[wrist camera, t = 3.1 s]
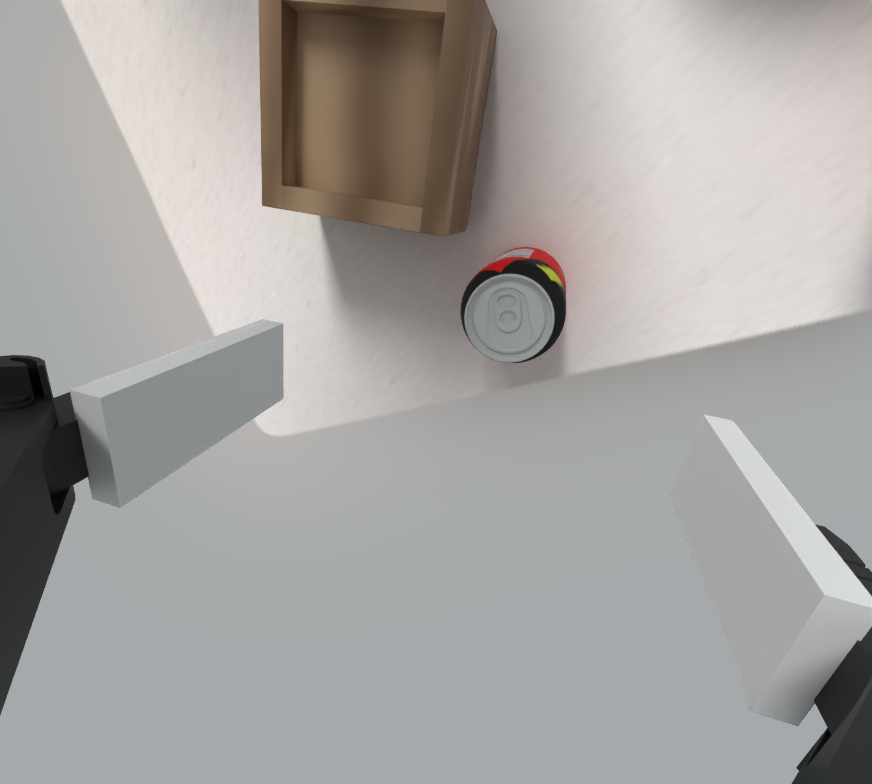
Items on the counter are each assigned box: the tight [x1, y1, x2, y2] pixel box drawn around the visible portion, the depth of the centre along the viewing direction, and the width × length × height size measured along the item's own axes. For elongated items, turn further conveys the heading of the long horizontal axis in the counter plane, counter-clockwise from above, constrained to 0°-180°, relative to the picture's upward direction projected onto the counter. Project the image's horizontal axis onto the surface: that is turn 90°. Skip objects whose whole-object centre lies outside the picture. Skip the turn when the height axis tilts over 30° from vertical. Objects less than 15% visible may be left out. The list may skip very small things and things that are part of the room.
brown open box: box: [259, 0, 497, 236], centre depth 31 cm, size 13×13×8 cm
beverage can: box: [461, 247, 566, 363], centre depth 31 cm, size 6×6×12 cm
